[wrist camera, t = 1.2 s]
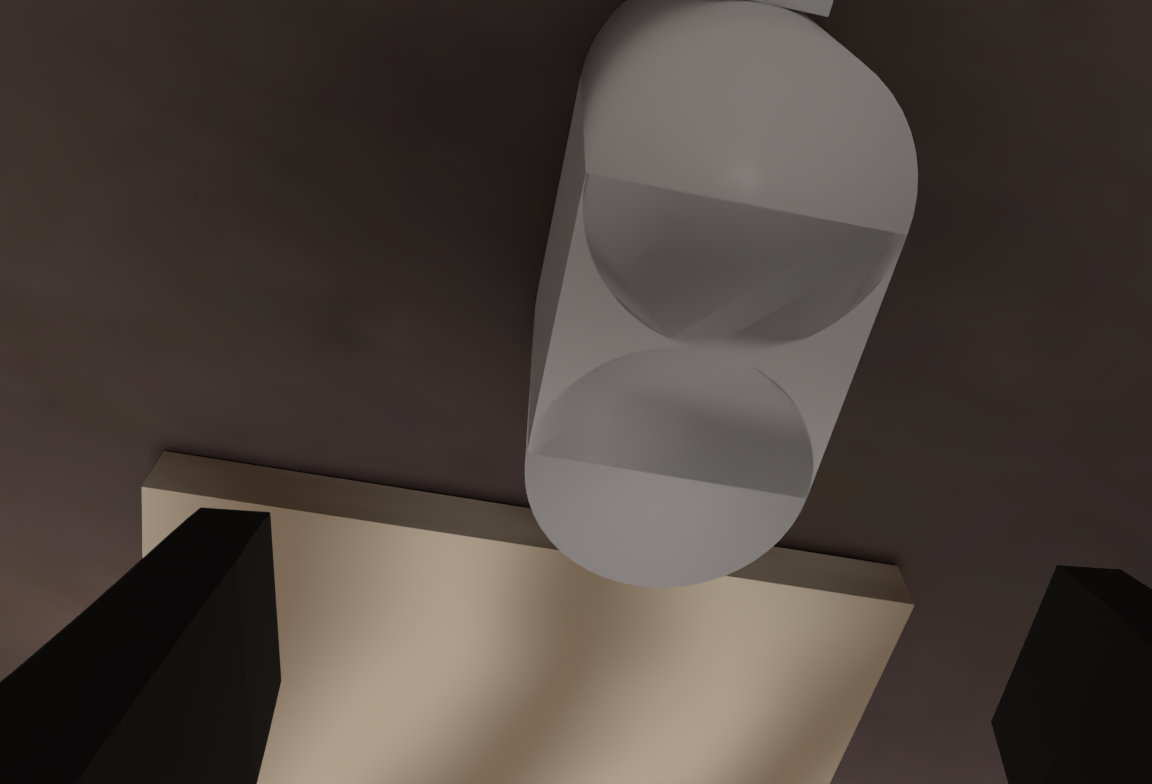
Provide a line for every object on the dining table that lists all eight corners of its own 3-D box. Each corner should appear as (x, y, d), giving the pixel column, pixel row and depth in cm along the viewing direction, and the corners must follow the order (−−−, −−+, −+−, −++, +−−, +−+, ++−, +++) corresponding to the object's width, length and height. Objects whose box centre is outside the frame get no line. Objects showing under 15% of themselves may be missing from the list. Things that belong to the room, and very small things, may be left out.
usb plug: (899, -129, 15) (1036, -105, 11) (721, 430, 20) (765, 605, 15) (633, -191, 14) (663, -193, 10) (517, 395, 19) (503, 565, 15)
